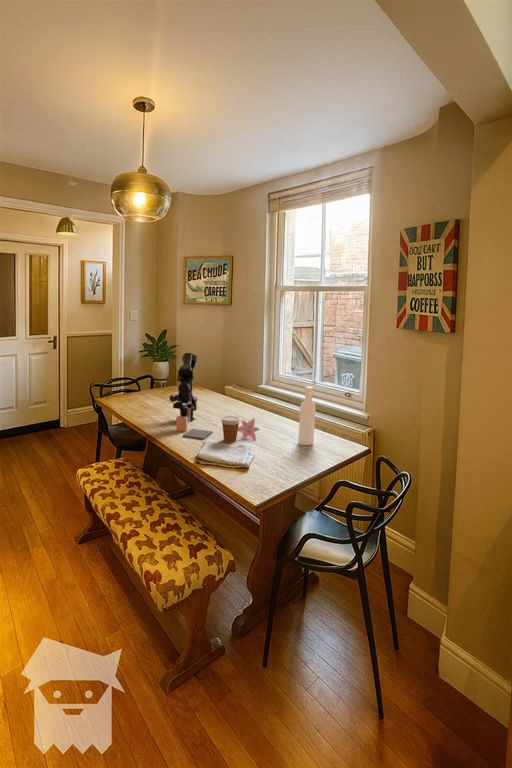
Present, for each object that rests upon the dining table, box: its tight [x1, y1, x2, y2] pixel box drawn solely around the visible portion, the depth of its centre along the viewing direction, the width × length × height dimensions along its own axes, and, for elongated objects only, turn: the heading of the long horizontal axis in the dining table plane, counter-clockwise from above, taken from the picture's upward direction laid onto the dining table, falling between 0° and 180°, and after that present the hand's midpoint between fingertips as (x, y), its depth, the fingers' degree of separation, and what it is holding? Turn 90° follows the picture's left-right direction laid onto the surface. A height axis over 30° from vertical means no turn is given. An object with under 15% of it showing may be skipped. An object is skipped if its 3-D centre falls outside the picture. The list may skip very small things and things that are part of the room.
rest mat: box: [182, 428, 214, 440], centre depth 227 cm, size 12×12×1 cm
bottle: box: [297, 386, 317, 446], centre depth 218 cm, size 8×8×30 cm
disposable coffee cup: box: [221, 415, 241, 443], centre depth 219 cm, size 10×10×12 cm
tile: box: [175, 415, 189, 433], centre depth 232 cm, size 2×6×8 cm, turn 74°
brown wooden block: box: [179, 408, 191, 424], centre depth 235 cm, size 3×5×8 cm, turn 74°
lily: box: [238, 417, 261, 441], centre depth 226 cm, size 12×12×10 cm
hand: (185, 417), depth 236 cm, fingers closed on brown wooden block, 3 cm apart
